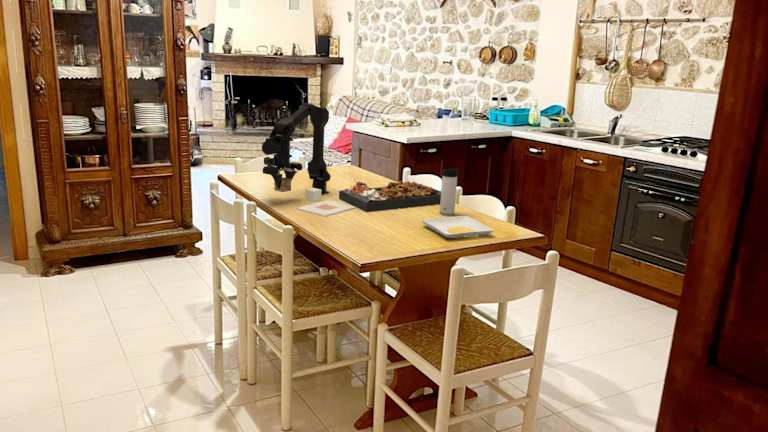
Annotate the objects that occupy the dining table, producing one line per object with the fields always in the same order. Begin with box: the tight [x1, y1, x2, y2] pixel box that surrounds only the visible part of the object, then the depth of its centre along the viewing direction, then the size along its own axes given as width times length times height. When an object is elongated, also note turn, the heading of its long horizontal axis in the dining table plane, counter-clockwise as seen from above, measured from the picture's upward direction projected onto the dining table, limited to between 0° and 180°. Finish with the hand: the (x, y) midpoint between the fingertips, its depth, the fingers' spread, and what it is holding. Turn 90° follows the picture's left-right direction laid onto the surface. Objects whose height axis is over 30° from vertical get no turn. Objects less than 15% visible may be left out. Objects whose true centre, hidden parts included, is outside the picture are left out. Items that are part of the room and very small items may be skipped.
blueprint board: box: [296, 199, 357, 218], centre depth 265 cm, size 20×16×1 cm
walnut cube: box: [273, 176, 292, 193], centre depth 269 cm, size 5×5×5 cm
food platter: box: [338, 178, 441, 213], centre depth 284 cm, size 45×25×10 cm, turn 122°
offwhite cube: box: [305, 187, 322, 203], centre depth 278 cm, size 5×5×5 cm
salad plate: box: [421, 215, 494, 239], centre depth 241 cm, size 21×21×3 cm
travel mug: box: [439, 168, 459, 216], centre depth 264 cm, size 6×7×20 cm
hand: (282, 187), depth 270 cm, fingers closed on walnut cube, 5 cm apart
